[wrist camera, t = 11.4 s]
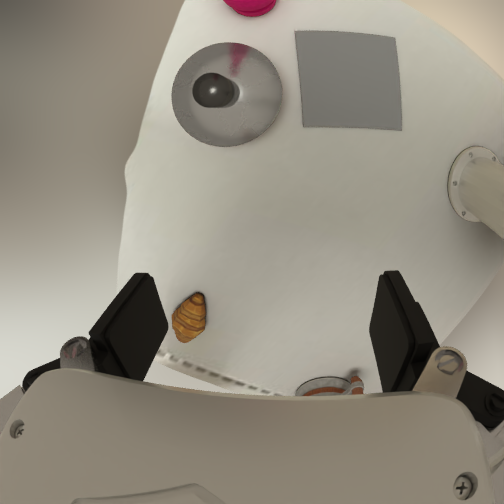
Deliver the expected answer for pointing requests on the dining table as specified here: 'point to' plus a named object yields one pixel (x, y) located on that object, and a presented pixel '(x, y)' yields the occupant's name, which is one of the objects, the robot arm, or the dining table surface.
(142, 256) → the dining table surface
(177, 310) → the croissant
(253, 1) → the pepper mill
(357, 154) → the dining table surface
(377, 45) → the mat
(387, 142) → the dining table surface
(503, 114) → the dining table surface
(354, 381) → the mug
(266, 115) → the lid
